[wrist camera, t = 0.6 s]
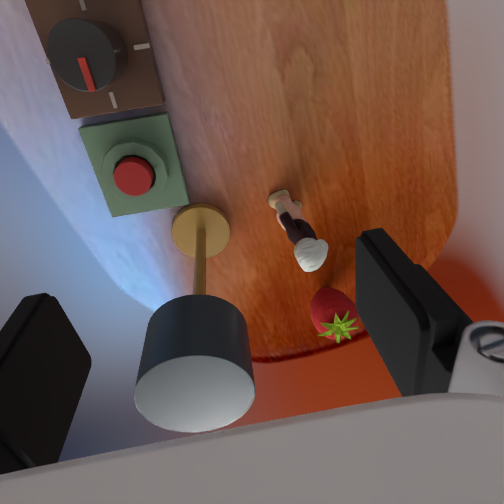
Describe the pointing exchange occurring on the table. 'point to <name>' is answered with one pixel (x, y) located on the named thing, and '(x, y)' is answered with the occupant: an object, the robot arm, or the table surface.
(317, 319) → the strawberry
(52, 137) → the table surface
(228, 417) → the desk lamp
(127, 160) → the lamp switch
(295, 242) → the grandmother figurine
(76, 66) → the dimmer knob
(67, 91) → the dimmer panel
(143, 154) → the switch base
